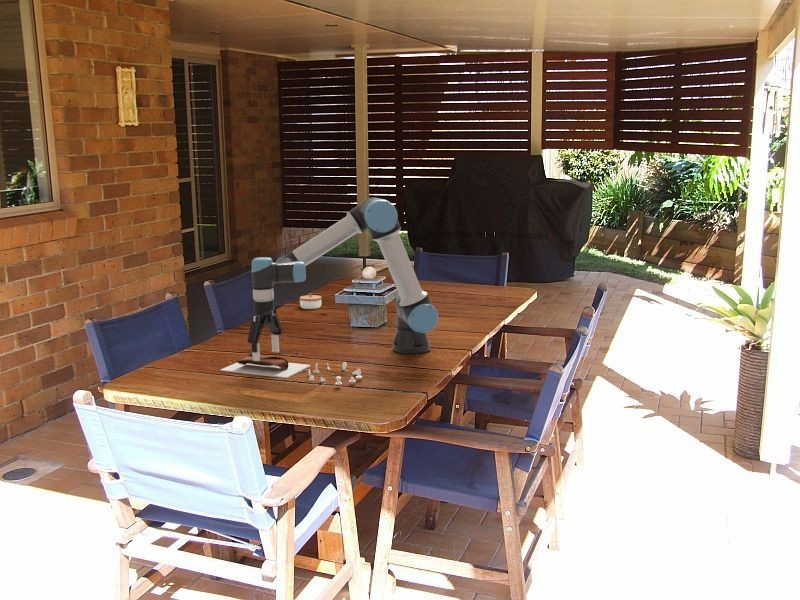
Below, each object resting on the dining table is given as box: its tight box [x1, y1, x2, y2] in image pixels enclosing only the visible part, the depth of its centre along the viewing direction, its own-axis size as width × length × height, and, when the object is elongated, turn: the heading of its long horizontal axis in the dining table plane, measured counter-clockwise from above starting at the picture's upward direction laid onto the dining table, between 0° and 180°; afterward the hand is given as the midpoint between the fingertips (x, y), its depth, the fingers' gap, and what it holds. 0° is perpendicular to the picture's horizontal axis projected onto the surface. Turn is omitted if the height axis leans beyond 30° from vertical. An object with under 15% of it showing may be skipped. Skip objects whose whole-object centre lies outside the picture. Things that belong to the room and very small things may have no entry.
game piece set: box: [307, 361, 363, 385], centre depth 302 cm, size 19×20×4 cm
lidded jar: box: [299, 293, 322, 310], centre depth 414 cm, size 11×11×9 cm
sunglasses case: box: [236, 353, 289, 370], centre depth 310 cm, size 18×7×7 cm
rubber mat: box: [220, 362, 312, 379], centre depth 313 cm, size 28×18×1 cm, turn 68°
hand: (266, 356), depth 312 cm, fingers open, 13 cm apart
